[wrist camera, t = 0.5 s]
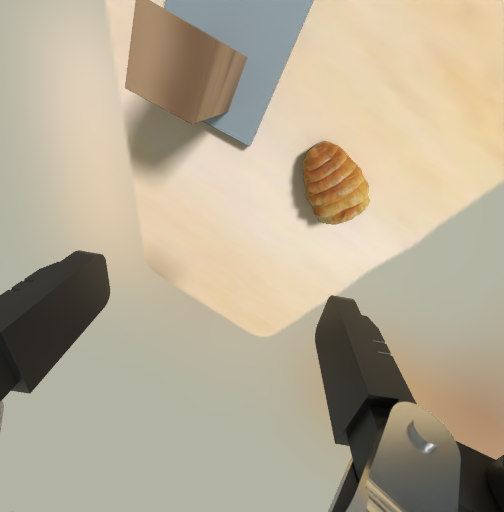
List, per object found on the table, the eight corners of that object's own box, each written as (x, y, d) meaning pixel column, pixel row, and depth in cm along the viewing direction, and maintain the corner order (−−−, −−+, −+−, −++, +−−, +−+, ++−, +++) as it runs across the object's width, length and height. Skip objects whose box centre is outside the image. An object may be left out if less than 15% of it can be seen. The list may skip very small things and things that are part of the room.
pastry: (288, 159, 30) (287, 167, 27) (343, 126, 27) (349, 131, 24) (321, 222, 34) (323, 235, 31) (372, 198, 31) (380, 211, 28)
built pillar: (185, 87, 26) (125, 88, 17) (199, 28, 23) (136, -7, 14) (228, 111, 27) (192, 124, 18) (247, 57, 24) (215, 40, 15)
